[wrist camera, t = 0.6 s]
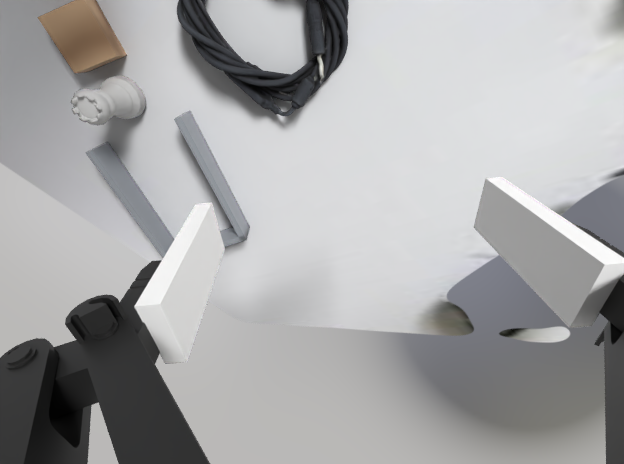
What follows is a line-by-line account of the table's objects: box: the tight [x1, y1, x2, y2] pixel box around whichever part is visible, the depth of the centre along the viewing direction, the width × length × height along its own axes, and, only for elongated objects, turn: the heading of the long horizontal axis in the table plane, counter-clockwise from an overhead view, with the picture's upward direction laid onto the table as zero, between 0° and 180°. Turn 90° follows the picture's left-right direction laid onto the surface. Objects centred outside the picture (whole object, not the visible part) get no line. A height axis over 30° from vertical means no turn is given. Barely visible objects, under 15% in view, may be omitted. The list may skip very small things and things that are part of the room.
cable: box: [177, 0, 348, 116], centre depth 30 cm, size 17×14×4 cm
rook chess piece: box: [71, 75, 145, 125], centre depth 31 cm, size 4×4×8 cm
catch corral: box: [86, 111, 250, 258], centre depth 39 cm, size 17×12×4 cm
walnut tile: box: [38, 0, 127, 73], centre depth 31 cm, size 5×5×2 cm
